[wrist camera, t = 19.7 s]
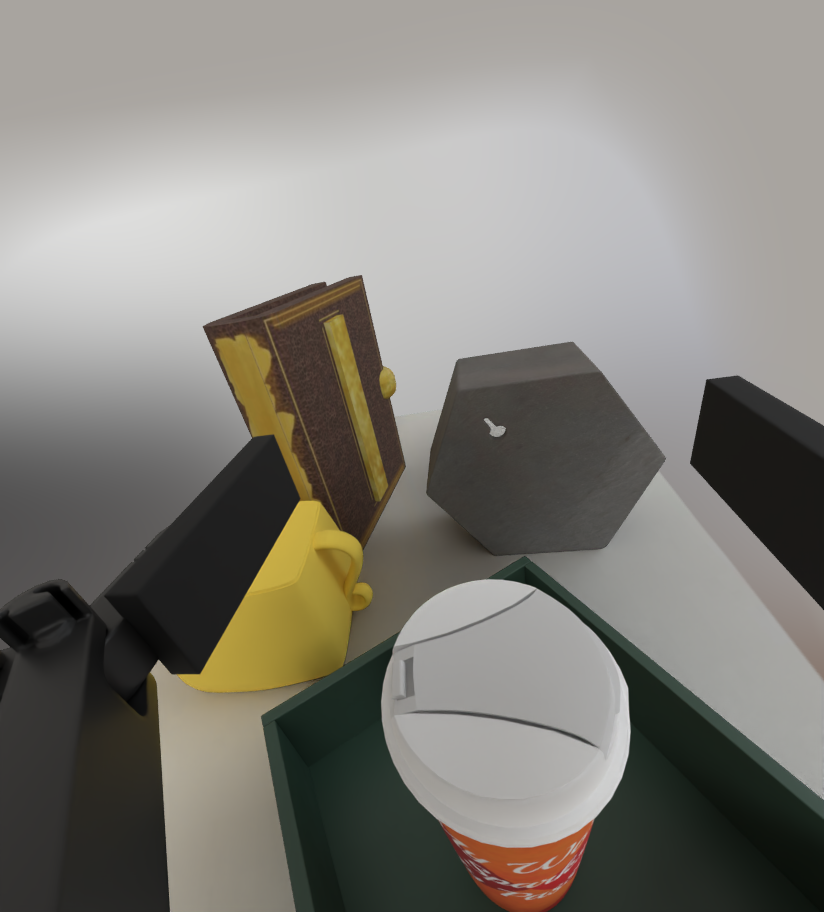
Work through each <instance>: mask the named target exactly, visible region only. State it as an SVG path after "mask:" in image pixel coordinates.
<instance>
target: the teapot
mask: <svg viewBox="0 0 824 912" xmlns="http://www.w3.org/2000/svg"><path fill="white" fill-rule="evenodd" d="M362 564H363V550H362V547H361V544H360V543H359V541H358V540H357V539H356V538H355V537H353V536H352V535H350V534H348V533H346V532H342V531H340V530H339V529H338V527H337V525H336V524H335V522H334V521H333V519H332V518H331V517H330V515H329V514H328V512H327V511H326V509H325V508H324V507H323V506H322V504H321V503H320V502H318V501H299V502H298V504H297V506H296V508H295V509H294V511H293V513H292V515H291V516H290V518H289V520H288V522H287V523H286V525H285V527H284V529H283V530H282V532H281V534H280V536H279V537H278V539H277V541H276V543H275V544H274V546H273V548H272V550H271V551H270V553H269V555H268V557H267V558H266V560H265V562H264V564H263V565H262V567H261V569H260V571H259V572H258V574H257V576H256V578H255V579H254V581H253V583H252V585H251V586H250V588H249V590H248V592H247V593H246V595H245V597H244V599H243V600H242V602H241V604H240V606H239V607H238V609H237V611H236V613H235V614H234V616H233V618H232V620H231V621H230V623H229V625H228V627H227V628H226V630H225V632H224V634H223V635H222V637H221V639H220V641H219V642H218V644H217V646H216V648H215V649H214V651H213V653H212V655H211V656H210V658H209V660H208V662H207V663H206V665H205V667H204V669H203V670H202V672H201V674H177V675H178V676H179V678H180V679H181V680H182V681H183V682H185V683H186V684H187V685H189V686H191V687H193V688H195V689H197V690H201V691H205V692H217V693H222V692H246V691H258V690H267V689H273V688H278V687H283V686H288V685H292V684H297V683H301V682H305V681H309V680H313V679H317V678H320V677H324V676H327V675H329V674H331V673H333V672H334V671H336V670H338V669H339V668H341V667H342V666H343V664H344V661H345V657H346V652H347V647H348V641H349V634H350V628H351V620H352V612H353V611H359V610H362V609H365V608H366V607H368V606H369V604H370V603H371V600H372V597H373V592H372V589H371V587H370V586H369V585H368V584H367V583H362V582H361V583H357V580H358V578H359V575H360V572H361V569H362Z"/></svg>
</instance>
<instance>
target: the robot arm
mask: <svg viewBox="0 0 824 912" xmlns="http://www.w3.org/2000/svg"><path fill="white" fill-rule="evenodd" d="M690 464H691V465H692V466H693V467H694V468H695V469H696V470H697V471H698V472H699V474H700V475H701V476H702V477H703V478H704V479H705V480H706V481H707V482H708V484H709V485H710V486H711V487H712V488H713V489H714V490H715V491H716V492H717V493H718V495H719V496H720V497H721V498H722V499H723V500H724V501H725V502H726V503H727V504H728V505H729V507H730V508H731V509H732V510H733V511H734V512H735V513H736V514H737V515H738V517H739V518H741V520H742V521H743V522H744V523H745V524H746V525H747V526H748V527H749V529H750V530H751V531H752V532H753V533H754V534H755V535H756V536H757V537H758V538H759V539H760V541H761V542H762V543H763V544H764V545H765V546H766V547H767V548H768V549H769V551H770V552H771V553H772V554H773V555H774V556H775V557H776V558H777V559H778V560H779V562H780V563H781V564H782V565H783V566H784V567H785V568H786V569H787V570H788V571H789V572H790V574H791V575H792V576H793V577H794V578H795V579H796V580H797V581H798V582H799V583H800V584H801V586H802V587H803V588H804V589H805V590H806V591H807V592H808V593H809V594H810V596H811V597H812V598H813V599H814V600H815V601H816V602H817V603H818V604H819V605H820V606H821V607H822V609H823V610H824V426H823V425H821V424H820V423H818V422H816V421H815V420H813V419H811V418H810V417H808V416H806V415H804V414H803V413H801V412H799V411H798V410H796V409H794V408H792V407H791V406H789V405H787V404H786V403H784V402H782V401H781V400H779V399H777V398H775V397H774V396H772V395H770V394H769V393H767V392H765V391H763V390H761V389H760V388H758V387H757V386H755V385H753V384H752V383H750V382H748V381H746V380H745V379H743V378H741V377H740V376H731V377H723V378H715V379H707V380H706V385H705V390H704V395H703V400H702V405H701V410H700V415H699V420H698V426H697V431H696V436H695V441H694V446H693V451H692V456H691V461H690ZM300 499H301V498H300V496H299V493H298V491H297V489H296V486H295V484H294V481H293V479H292V476H291V474H290V472H289V469H288V467H287V464H286V462H285V460H284V457H283V455H282V452H281V450H280V448H279V445H278V443H277V440H276V438H275V436H274V434H272V435H264V436H256V437H253V438H252V439H251V441H249V442H248V443H247V445H246V446H245V447H244V448H243V449H242V450H241V451H240V452H239V453H238V454H237V455H236V456H235V458H233V459H232V460H231V462H230V463H229V464H228V465H227V466H226V467H225V468H224V469H223V470H222V471H221V472H220V473H219V474H218V475H217V476H216V477H215V479H214V480H213V481H212V482H211V483H210V484H209V485H208V486H207V487H206V488H205V489H204V490H203V491H202V492H201V493H200V494H199V496H197V498H196V499H195V500H194V501H193V502H192V503H191V504H190V505H189V506H188V507H187V508H186V509H185V510H184V511H183V512H182V514H181V515H180V516H179V517H178V518H177V519H176V520H175V521H174V522H173V523H172V524H171V525H170V526H168V527H167V528H166V529H164V530H163V531H162V532H160V533H159V534H158V535H157V536H156V537H155V538H154V539H153V540H152V541H151V542H150V543H149V544H148V545H147V546H146V549H145V550H143V551H142V552H141V553H140V554H139V555H138V556H137V557H136V558H135V559H134V562H131V563H130V564H129V565H128V566H127V567H126V568H125V569H124V570H123V571H122V572H121V574H120V575H119V576H118V577H117V578H116V579H115V580H114V581H113V582H112V583H111V584H110V585H109V586H108V587H107V588H106V589H105V590H104V592H102V594H100V596H99V597H98V598H97V599H96V600H95V601H94V602H93V603H92V604H91V605H90V606H89V605H88V604H87V603H86V602H85V600H84V599H83V598H82V597H81V596H80V595H79V594H78V593H77V592H76V591H75V589H74V588H73V587H72V586H71V585H70V584H69V583H68V582H67V581H65V580H62V579H58V580H51V581H47V582H45V583H42V584H40V585H37V586H34V587H33V588H31V589H29V590H27V591H25V592H23V593H21V594H20V595H18V596H17V597H15V598H14V599H13V600H11V601H10V602H8V603H7V604H5V605H4V606H3V607H2V608H1V609H0V638H1V639H2V640H3V641H4V642H6V643H7V644H8V645H9V646H10V648H7V649H3V650H0V912H170V905H169V888H168V870H167V853H166V836H165V819H164V802H163V784H162V767H161V750H160V733H159V716H158V698H157V683H156V681H155V678H154V676H153V675H152V674H151V673H150V671H151V670H152V668H153V667H154V665H155V664H156V662H157V661H158V660H160V661H161V663H162V664H163V665H164V666H165V667H166V668H167V669H168V671H169V672H170V673H171V674H201V672H202V670H203V669H204V667H205V665H206V663H207V662H208V660H209V658H210V656H211V655H212V653H213V651H214V649H215V648H216V646H217V644H218V642H219V641H220V639H221V637H222V635H223V634H224V632H225V630H226V628H227V627H228V625H229V623H230V621H231V620H232V618H233V616H234V614H235V613H236V611H237V609H238V607H239V606H240V604H241V602H242V600H243V599H244V597H245V595H246V593H247V592H248V590H249V588H250V586H251V585H252V583H253V581H254V579H255V578H256V576H257V574H258V572H259V571H260V569H261V567H262V565H263V564H264V562H265V560H266V558H267V557H268V555H269V553H270V551H271V550H272V548H273V546H274V544H275V543H276V541H277V539H278V537H279V536H280V534H281V532H282V530H283V529H284V527H285V525H286V523H287V522H288V520H289V518H290V516H291V515H292V513H293V511H294V509H295V508H296V506H297V504H298V502H299V501H300Z"/></svg>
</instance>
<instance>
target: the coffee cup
mask: <svg viewBox="0 0 824 912" xmlns="http://www.w3.org/2000/svg"><path fill="white" fill-rule="evenodd" d="M392 652H393V655H392V657H391V659H390V662H389V664H388V667H387V670H386V674H385V678H384V682H383V689H382V699H381V710H382V724H383V729H384V734H385V740H386V744H387V746H388V749H389V752H390V755H391V758H392V760H393V763H394V765H395V767H396V769H397V770H398V772H399V774H400V776H401V778H402V780H403V782H404V783H405V785H406V786H407V787H408V789H409V790H410V791H411V793H412V794H413V795H414V796H415V798H416V799H417V800H418V802H419V803H420V804H421V805H422V806H423V807H425V808H426V809H427V810H428V811H429V812H430V813H431V814H432V815H433V816H434V817H435V818H436V819H438V821H439V822H440V824H441V826H442V828H443V830H444V831H445V833H446V835H447V837H448V838H449V840H450V842H451V844H452V845H453V847H454V849H455V851H456V852H457V854H458V856H459V857H460V859H461V861H462V862H463V864H464V866H465V867H466V869H467V871H468V872H469V874H470V875H471V877H472V878H473V880H474V881H475V883H476V884H477V885H478V887H479V888H480V889H481V890H482V891H483V893H484V894H485V895H486V896H487V897H488V898H489V899H490V900H492V901H493V902H494V903H495V904H497V905H498V906H500V907H501V908H503V909H505V910H507V911H509V912H546V911H548V910H550V909H552V908H553V907H555V906H556V905H557V904H558V903H559V902H560V901H561V900H562V899H563V898H564V896H565V895H566V893H567V892H568V890H569V888H570V887H571V885H572V883H573V880H574V878H575V876H576V873H577V870H578V868H579V865H580V862H581V859H582V856H583V853H584V850H585V847H586V844H587V841H588V838H589V835H590V832H591V828H592V825H593V822H594V819H595V817H597V816H598V814H599V813H600V812H601V811H602V809H603V808H604V807H605V806H606V804H607V803H608V802H609V801H610V799H611V798H612V796H613V794H614V792H615V790H616V788H617V787H618V785H619V783H620V781H621V779H622V776H623V773H624V769H625V765H626V762H627V758H628V755H629V744H630V733H631V730H630V718H629V699H628V686H627V684H626V682H625V679H624V677H623V674H622V672H621V670H620V668H619V666H618V664H617V663H616V661H615V659H614V658H613V656H612V654H611V653H610V651H609V650H608V649H607V647H606V646H605V645H604V644H603V642H602V641H601V640H600V639H599V637H598V636H597V635H596V634H595V633H594V632H593V631H592V630H591V629H590V628H589V627H588V626H586V625H585V624H584V623H583V622H582V621H581V620H580V619H579V618H578V617H577V616H576V615H575V614H574V613H573V612H572V611H570V610H569V609H568V608H567V607H565V606H564V605H562V604H561V603H559V602H558V601H557V600H555V599H554V598H552V597H550V596H549V595H547V594H545V593H544V592H542V591H540V590H539V589H537V588H535V587H532V586H530V585H526V584H522V583H519V582H514V581H507V580H493V579H487V580H476V581H471V582H466V583H462V584H459V585H456V586H453V587H451V588H448V589H446V590H444V591H442V592H440V593H438V594H436V595H435V596H434V597H432V598H431V599H429V600H428V601H426V602H425V603H424V604H423V605H422V606H421V607H420V608H419V609H417V610H416V611H415V613H414V614H413V615H412V616H411V617H410V619H409V620H408V621H407V622H406V624H405V626H404V627H403V629H402V631H401V632H400V634H399V636H398V638H397V640H396V643H395V645H394V647H393V650H392Z"/></svg>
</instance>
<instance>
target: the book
mask: <svg viewBox="0 0 824 912" xmlns="http://www.w3.org/2000/svg"><path fill="white" fill-rule="evenodd" d="M203 328H204V331H205V333H206V335H207V337H208V340H209V342H210V344H211V346H212V349H213V351H214V353H215V355H216V358H217V360H218V362H219V364H220V367H221V369H222V371H223V373H224V376H225V378H226V380H227V382H228V385H229V387H230V389H231V391H232V394H233V396H234V398H235V401H236V403H237V405H238V407H239V410H240V412H241V414H242V416H243V419H244V421H245V423H246V425H247V427H248V430H249V432H250V434H251V437H252V438H253V437H256V436H264V435H272V434H274V436H275V438H276V440H277V443H278V445H279V448H280V450H281V452H282V455H283V457H284V460H285V462H286V464H287V467H288V469H289V472H290V474H291V476H292V479H293V481H294V484H295V486H296V489H297V491H298V493H299V496H300V498H301V499H300V501H318V502H320V503H321V504H322V506H323V507H324V508H325V509H326V511H327V512H328V514H329V515H330V517H331V518H332V519H333V521H334V522H335V524H336V525H337V527H338V529H339V530H340V531H342V532H346V533H348V534H350V535H352V536H353V537H355V538H356V539H357V540H358V541H359V543H360V544H361V547H362V550H363V549H364V547H365V545H366V543H367V541H368V539H369V537H370V535H371V533H372V531H373V530H374V528H375V526H376V524H377V522H378V520H379V518H380V516H381V514H382V512H383V510H384V508H385V506H386V504H387V502H388V500H389V498H390V496H391V494H392V492H393V490H394V488H395V486H396V484H397V482H398V480H399V478H400V476H401V474H402V472H403V471H404V469H405V467H406V466H405V461H404V457H403V453H402V448H401V444H400V440H399V435H398V431H397V426H396V422H395V418H394V414H393V409H392V405H391V401H390V397H391V396H392V395H393V394H394V393H395V391H396V381H395V376H394V374H393V372H392V371H391V370H390V369H389V368H387V367H384V366H383V365H382V361H381V357H380V352H379V348H378V344H377V339H376V335H375V330H374V326H373V322H372V318H371V313H370V309H369V304H368V300H367V296H366V291H365V287H364V283H363V278H362V275H360V276H354V277H349V278H346V279H344V280H341V281H339V282H336V283H334V284H331V285H329V286H327V285H326V282H321V283H315V284H311V285H309V286H306V287H304V288H301V289H298V290H296V291H293V292H290V293H288V294H285V295H282V296H280V297H277V298H274V299H272V300H269V301H266V302H264V303H261V304H259V305H256V306H253V307H250V308H248V309H245V310H242V311H240V312H237V313H235V314H232V315H229V316H226V317H224V318H221V319H218V320H216V321H213V322H210V323H208V324H206V325H205V326H203Z"/></svg>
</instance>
